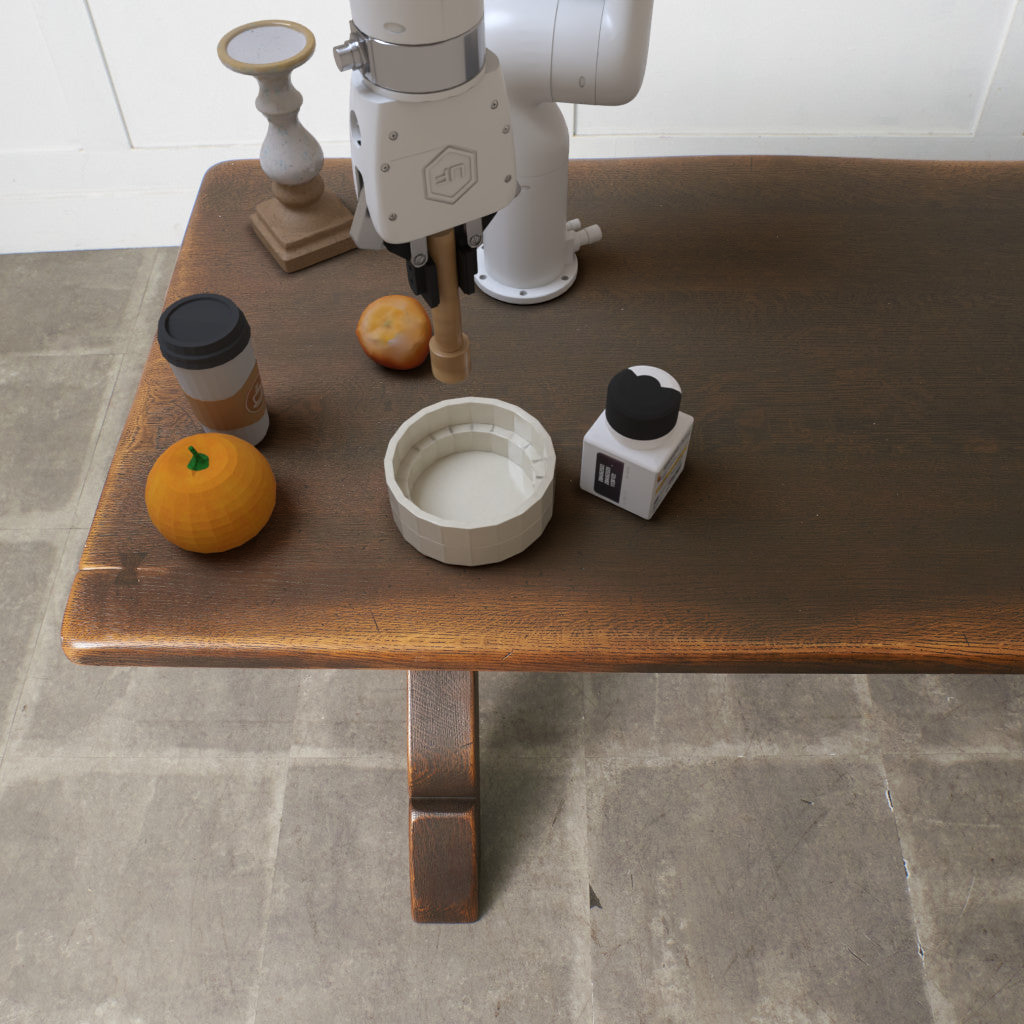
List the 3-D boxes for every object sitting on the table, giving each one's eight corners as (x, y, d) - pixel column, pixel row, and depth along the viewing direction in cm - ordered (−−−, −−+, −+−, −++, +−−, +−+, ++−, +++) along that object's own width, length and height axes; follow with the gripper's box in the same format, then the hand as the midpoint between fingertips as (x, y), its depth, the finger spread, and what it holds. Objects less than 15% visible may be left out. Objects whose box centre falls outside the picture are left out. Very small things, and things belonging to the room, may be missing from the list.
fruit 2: (452, 318, 104) (433, 294, 96) (432, 386, 104) (411, 366, 96) (385, 303, 106) (361, 278, 98) (365, 370, 105) (340, 349, 97)
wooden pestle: (460, 350, 77) (448, 207, 66) (478, 375, 76) (469, 232, 64) (425, 364, 77) (407, 221, 65) (442, 389, 75) (427, 246, 64)
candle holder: (286, 274, 111) (236, 80, 92) (250, 227, 117) (196, 35, 98) (368, 242, 115) (336, 49, 95) (329, 198, 120) (292, 7, 101)
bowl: (506, 420, 97) (505, 376, 92) (583, 527, 89) (587, 485, 83) (367, 477, 93) (358, 433, 87) (435, 595, 84) (429, 554, 79)
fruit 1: (135, 547, 88) (96, 481, 80) (202, 457, 94) (171, 387, 86) (245, 583, 85) (215, 518, 77) (305, 488, 92) (284, 419, 84)
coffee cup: (263, 466, 94) (224, 357, 82) (185, 454, 95) (135, 344, 83) (291, 406, 98) (258, 295, 86) (217, 395, 99) (174, 284, 87)
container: (648, 522, 89) (665, 431, 78) (578, 489, 91) (585, 396, 81) (684, 468, 93) (704, 375, 82) (615, 438, 95) (626, 343, 85)
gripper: (316, 113, 50) (365, 359, 65) (572, 38, 55) (563, 284, 70) (269, 51, 54) (325, 295, 69) (511, -15, 59) (515, 229, 73)
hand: (444, 288), depth 69 cm, fingers closed on wooden pestle, 2 cm apart
